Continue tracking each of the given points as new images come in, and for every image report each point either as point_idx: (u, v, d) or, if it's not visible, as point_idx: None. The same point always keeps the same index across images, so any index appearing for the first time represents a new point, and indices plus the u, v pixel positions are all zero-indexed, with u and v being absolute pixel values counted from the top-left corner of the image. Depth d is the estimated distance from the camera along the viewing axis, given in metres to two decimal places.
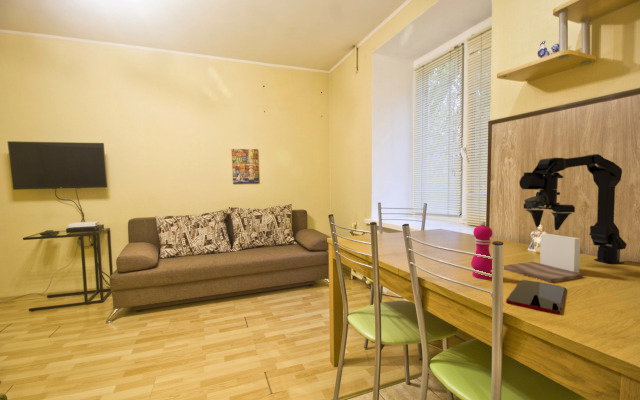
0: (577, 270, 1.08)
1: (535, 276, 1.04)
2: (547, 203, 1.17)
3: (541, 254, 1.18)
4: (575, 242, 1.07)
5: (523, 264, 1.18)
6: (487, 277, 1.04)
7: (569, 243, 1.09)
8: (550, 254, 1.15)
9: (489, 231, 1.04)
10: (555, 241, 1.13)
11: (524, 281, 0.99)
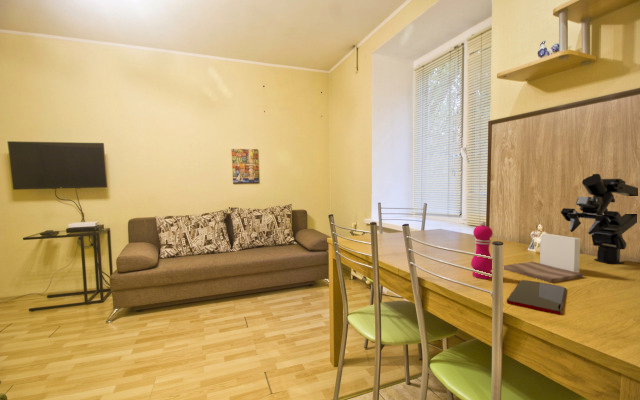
0: (577, 270, 1.08)
1: (535, 276, 1.04)
2: (598, 209, 1.15)
3: (541, 254, 1.18)
4: (575, 242, 1.07)
5: (523, 264, 1.18)
6: (487, 277, 1.04)
7: (569, 243, 1.09)
8: (550, 254, 1.15)
9: (489, 231, 1.04)
10: (555, 241, 1.13)
11: (524, 281, 0.99)
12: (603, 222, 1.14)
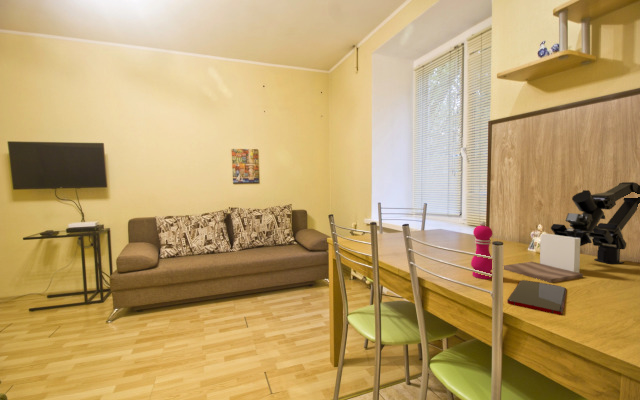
0: (577, 270, 1.08)
1: (535, 276, 1.04)
2: (587, 226, 1.14)
3: (541, 254, 1.18)
4: (575, 242, 1.07)
5: (523, 264, 1.18)
6: (487, 277, 1.04)
7: (569, 243, 1.09)
8: (550, 254, 1.15)
9: (489, 231, 1.04)
10: (555, 241, 1.13)
11: (524, 281, 0.99)
12: (584, 238, 1.15)
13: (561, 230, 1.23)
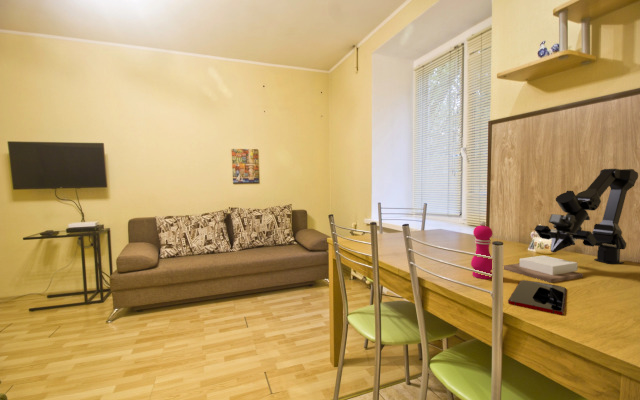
0: (574, 265, 1.08)
1: (535, 276, 1.04)
2: (571, 227, 1.11)
3: None
4: (555, 273, 1.04)
5: None
6: (487, 277, 1.04)
7: None
8: None
9: (489, 231, 1.04)
10: None
11: (524, 281, 0.99)
12: (567, 240, 1.12)
13: (545, 231, 1.20)
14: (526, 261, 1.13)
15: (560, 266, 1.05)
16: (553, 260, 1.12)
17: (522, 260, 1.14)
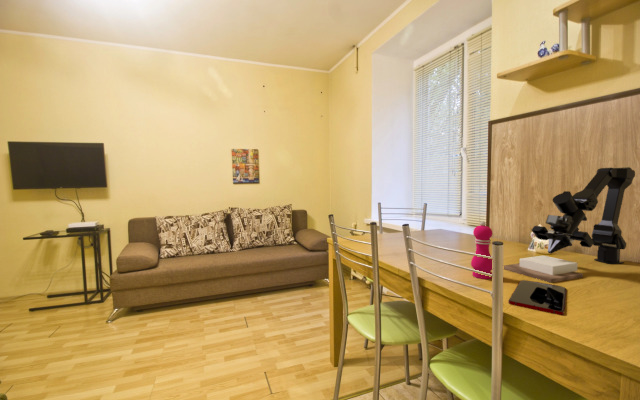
0: (574, 265, 1.08)
1: (535, 276, 1.04)
2: (568, 228, 1.10)
3: None
4: (555, 273, 1.04)
5: None
6: (487, 277, 1.04)
7: None
8: None
9: (489, 231, 1.04)
10: None
11: (524, 281, 0.99)
12: (564, 241, 1.11)
13: (542, 232, 1.19)
14: (526, 261, 1.13)
15: (560, 266, 1.05)
16: (553, 260, 1.12)
17: (522, 260, 1.14)
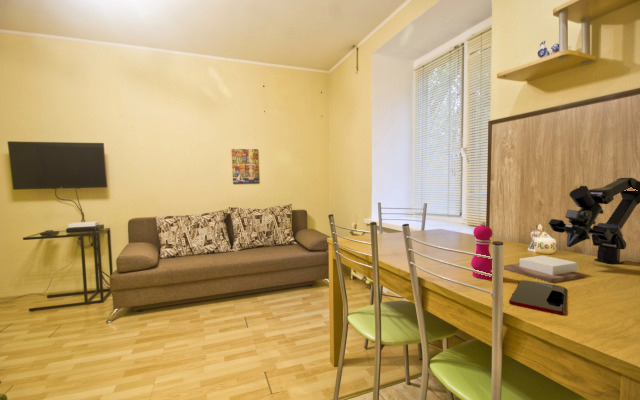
0: (574, 265, 1.08)
1: (535, 276, 1.04)
2: (587, 222, 1.13)
3: None
4: (555, 273, 1.04)
5: None
6: (487, 277, 1.04)
7: None
8: None
9: (489, 231, 1.04)
10: None
11: (524, 281, 0.99)
12: (582, 235, 1.15)
13: (559, 225, 1.22)
14: (526, 261, 1.13)
15: (560, 266, 1.05)
16: (553, 260, 1.12)
17: (522, 260, 1.14)
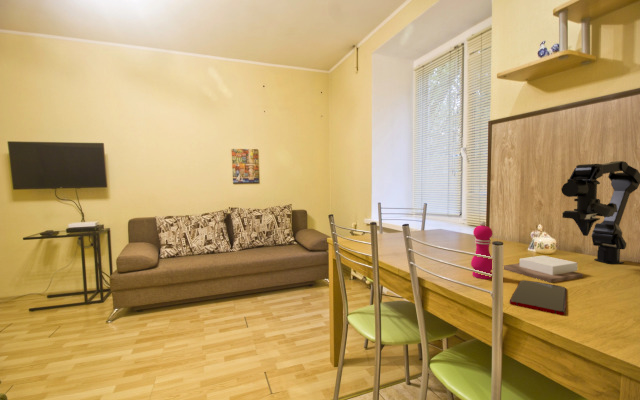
0: (574, 265, 1.08)
1: (535, 276, 1.04)
2: None
3: None
4: (555, 273, 1.04)
5: None
6: (487, 277, 1.04)
7: None
8: None
9: (489, 231, 1.04)
10: None
11: (524, 281, 0.99)
12: None
13: None
14: (526, 261, 1.13)
15: (560, 266, 1.05)
16: (553, 260, 1.12)
17: (522, 260, 1.14)
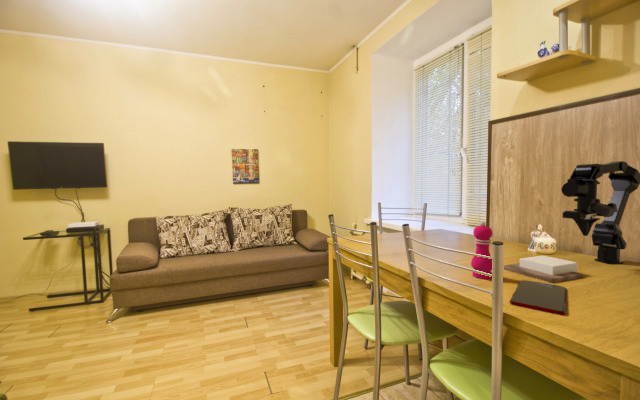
0: (574, 265, 1.08)
1: (535, 276, 1.04)
2: None
3: None
4: (555, 273, 1.04)
5: None
6: (487, 277, 1.04)
7: None
8: None
9: (489, 231, 1.04)
10: None
11: (524, 281, 0.99)
12: None
13: None
14: (526, 261, 1.13)
15: (560, 266, 1.05)
16: (553, 260, 1.12)
17: (522, 260, 1.14)
